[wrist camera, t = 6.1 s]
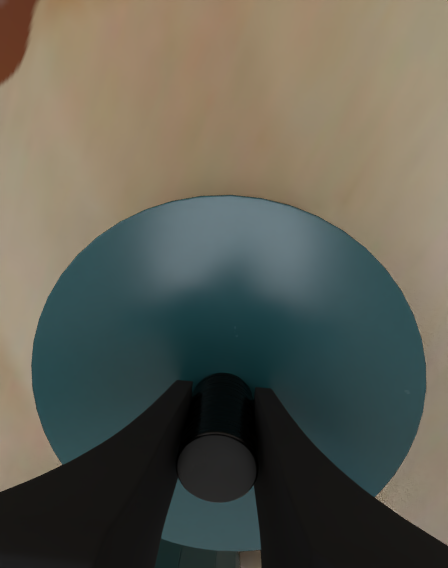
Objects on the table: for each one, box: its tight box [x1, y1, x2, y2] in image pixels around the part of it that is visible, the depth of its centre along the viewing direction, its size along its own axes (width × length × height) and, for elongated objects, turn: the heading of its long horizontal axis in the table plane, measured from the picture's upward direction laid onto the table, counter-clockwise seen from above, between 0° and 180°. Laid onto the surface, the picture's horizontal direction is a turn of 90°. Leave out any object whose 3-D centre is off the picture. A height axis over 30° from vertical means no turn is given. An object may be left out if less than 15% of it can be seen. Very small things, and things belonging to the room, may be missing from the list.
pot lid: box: [31, 195, 426, 551], centre depth 10 cm, size 16×16×4 cm
